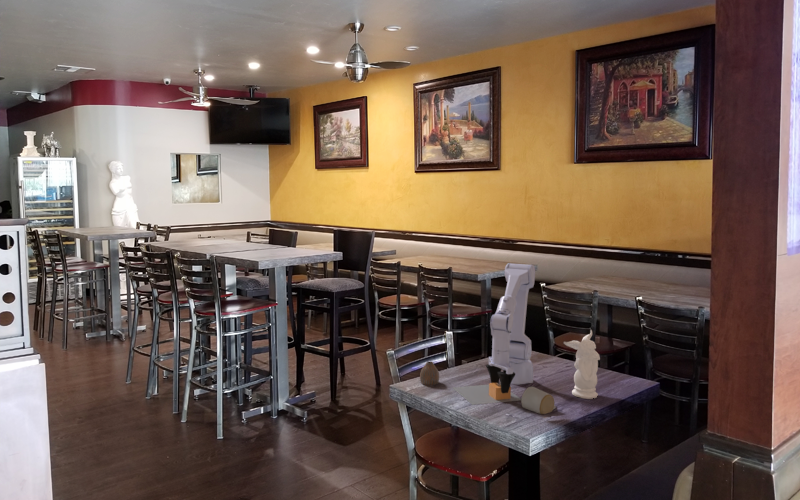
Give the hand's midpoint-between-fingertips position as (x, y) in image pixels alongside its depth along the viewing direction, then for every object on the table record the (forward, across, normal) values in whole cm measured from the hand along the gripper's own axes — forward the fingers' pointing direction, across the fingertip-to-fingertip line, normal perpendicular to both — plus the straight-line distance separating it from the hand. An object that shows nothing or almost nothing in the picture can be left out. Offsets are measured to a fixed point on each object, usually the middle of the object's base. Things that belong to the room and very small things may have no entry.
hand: (499, 389), depth 207 cm
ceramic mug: (+4, +13, +8) cm, 16 cm away
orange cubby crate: (+3, 0, 0) cm, 3 cm away
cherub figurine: (+4, +1, +30) cm, 30 cm away
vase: (+4, -20, -18) cm, 27 cm away
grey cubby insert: (+3, 0, 0) cm, 3 cm away
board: (+4, -4, -3) cm, 6 cm away
